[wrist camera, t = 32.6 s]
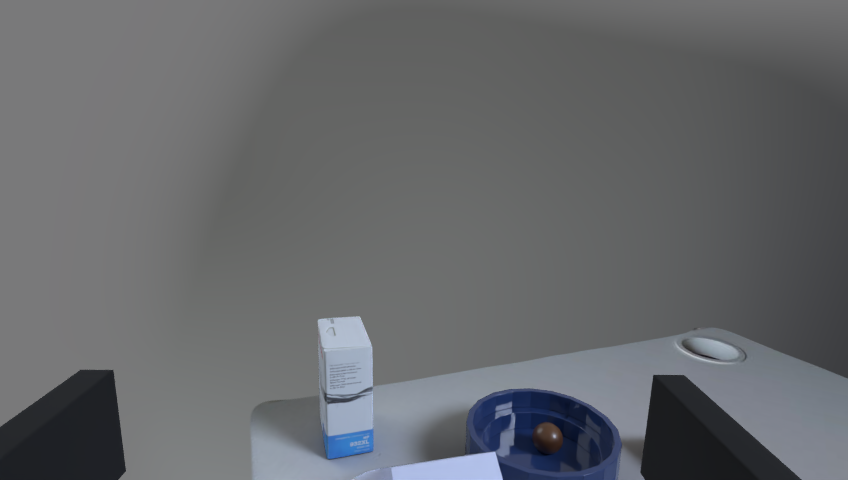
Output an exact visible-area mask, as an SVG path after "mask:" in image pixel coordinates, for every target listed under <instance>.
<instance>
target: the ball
mask: <svg viewBox="0 0 848 480" xmlns="http://www.w3.org/2000/svg"><path fill="white" fill-rule="evenodd" d="M532 440H533V443H534V445H535V447H536V448H537V449H538V450H539V451H540V452H542V453H544V454H554V453H556V452H558V451H559V450H560V448H561V447H562V444H563V435H562V433H561V431H560V429H559V428H558V427H557V426H556V425H554V424H552V423H549V422H543V423H540V424H538V425H537V426H536V427H535V429H534V430H533V434H532Z"/></svg>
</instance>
